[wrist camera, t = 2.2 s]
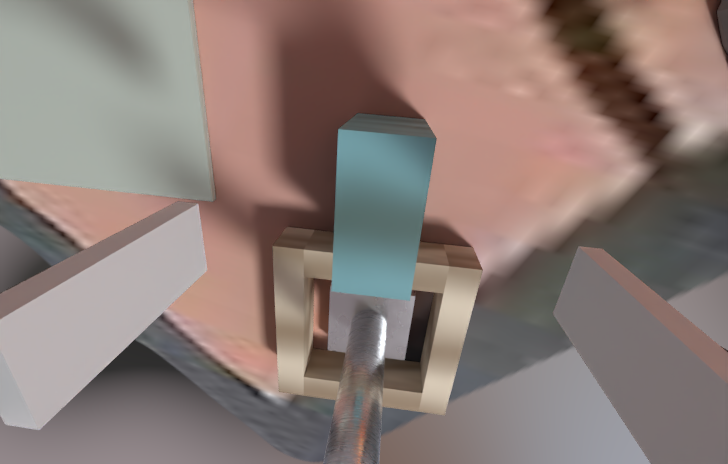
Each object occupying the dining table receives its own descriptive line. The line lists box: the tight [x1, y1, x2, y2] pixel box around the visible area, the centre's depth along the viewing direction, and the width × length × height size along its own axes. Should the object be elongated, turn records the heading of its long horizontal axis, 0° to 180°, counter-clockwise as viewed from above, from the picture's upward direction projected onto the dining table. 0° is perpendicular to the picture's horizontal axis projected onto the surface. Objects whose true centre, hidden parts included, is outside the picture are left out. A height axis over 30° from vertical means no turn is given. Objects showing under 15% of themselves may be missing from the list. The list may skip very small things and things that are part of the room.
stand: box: [323, 282, 415, 464], centre depth 17 cm, size 6×6×20 cm
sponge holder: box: [272, 113, 483, 415], centre depth 21 cm, size 21×13×7 cm, turn 176°
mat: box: [0, 0, 216, 202], centre depth 19 cm, size 20×16×1 cm
